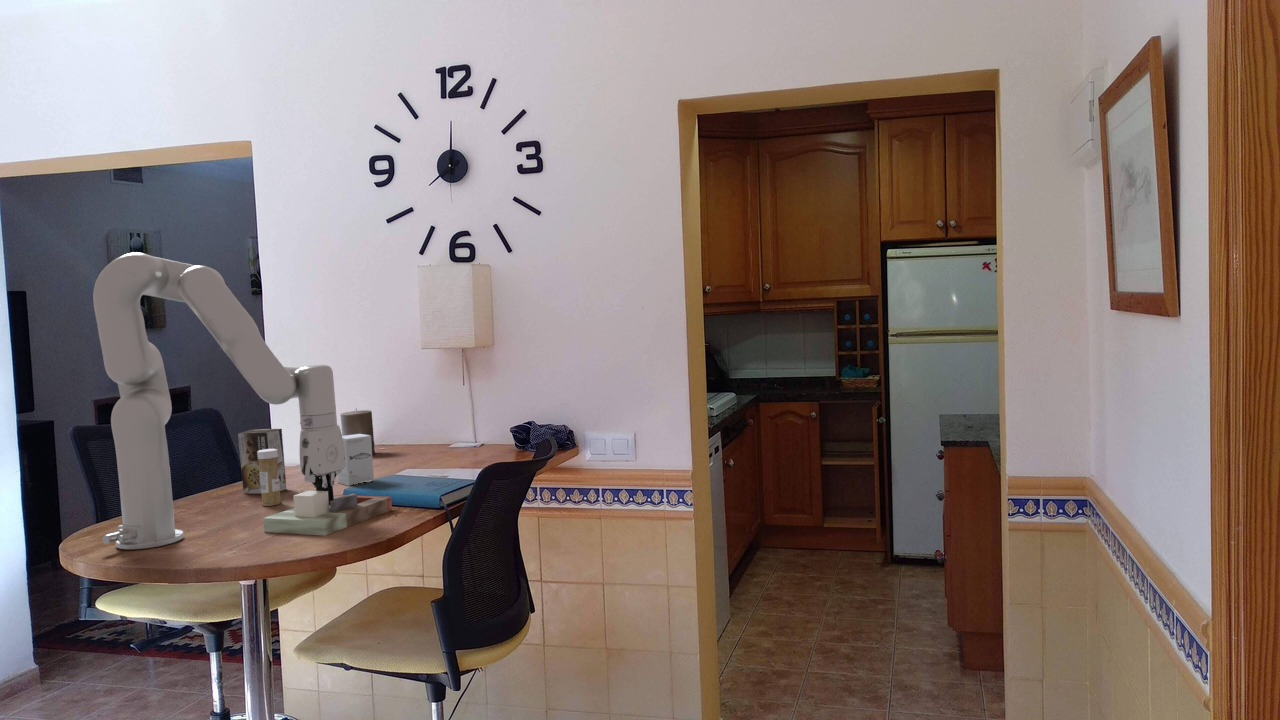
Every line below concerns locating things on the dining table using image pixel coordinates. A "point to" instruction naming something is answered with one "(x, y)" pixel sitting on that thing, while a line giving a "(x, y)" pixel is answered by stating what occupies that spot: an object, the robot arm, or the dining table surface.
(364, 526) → the dining table surface
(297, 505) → the cream block
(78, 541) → the dining table surface
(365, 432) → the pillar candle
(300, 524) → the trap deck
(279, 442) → the coffee box
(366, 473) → the supplement box
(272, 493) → the sprinkles bottle
